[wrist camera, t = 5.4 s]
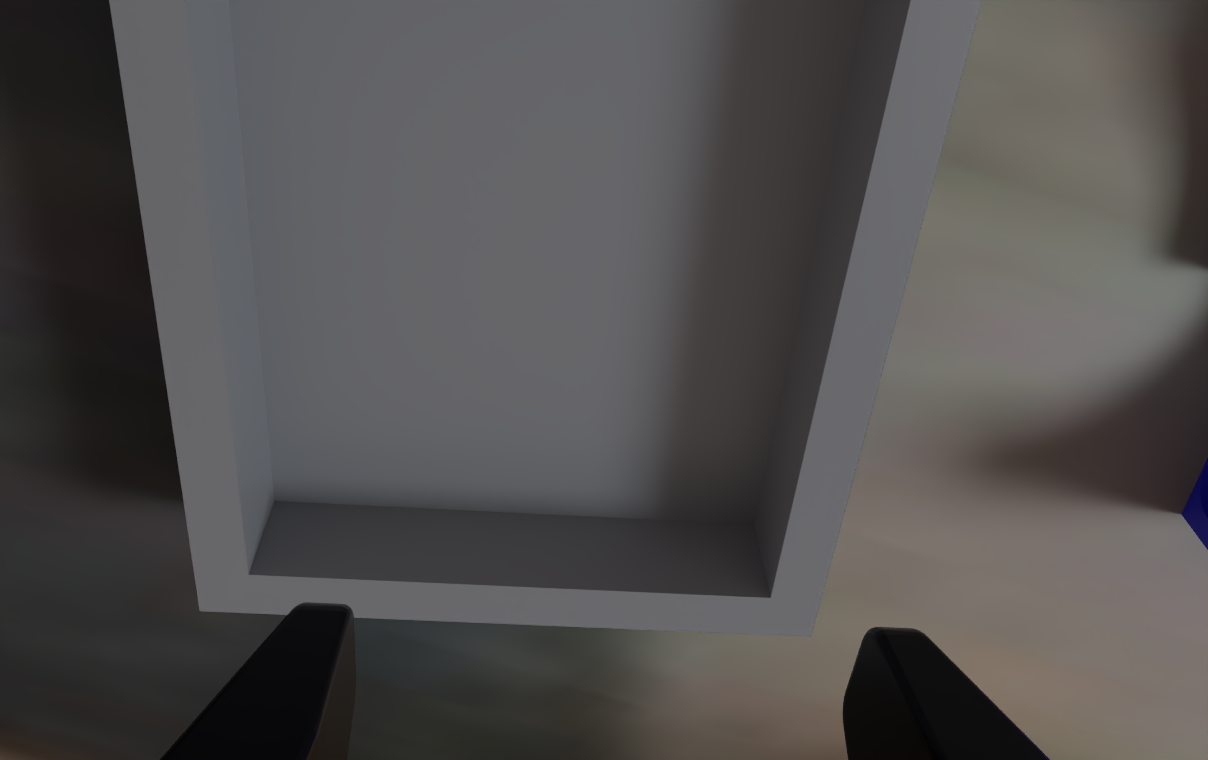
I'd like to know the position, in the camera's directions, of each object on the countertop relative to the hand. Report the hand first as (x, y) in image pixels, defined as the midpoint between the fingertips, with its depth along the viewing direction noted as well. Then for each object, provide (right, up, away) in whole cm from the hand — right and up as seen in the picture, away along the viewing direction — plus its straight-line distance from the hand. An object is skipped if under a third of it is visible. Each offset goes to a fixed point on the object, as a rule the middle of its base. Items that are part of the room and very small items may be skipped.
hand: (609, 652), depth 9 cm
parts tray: (-1, +7, +10) cm, 12 cm away
